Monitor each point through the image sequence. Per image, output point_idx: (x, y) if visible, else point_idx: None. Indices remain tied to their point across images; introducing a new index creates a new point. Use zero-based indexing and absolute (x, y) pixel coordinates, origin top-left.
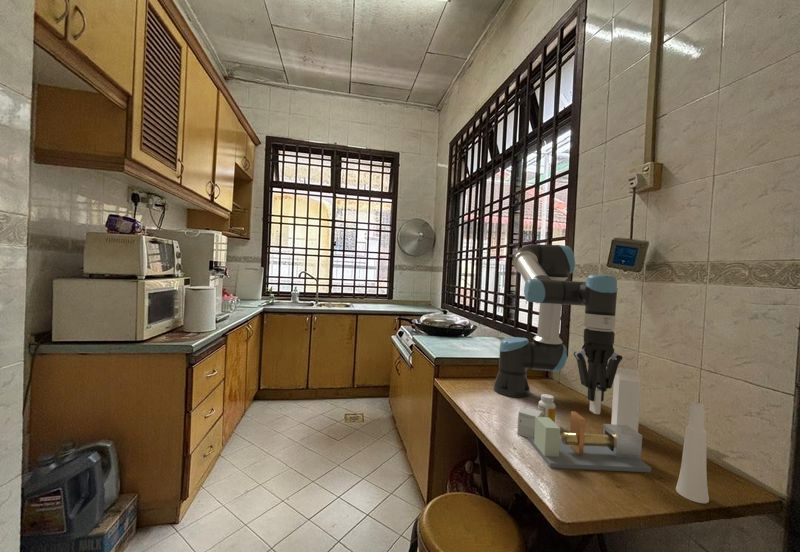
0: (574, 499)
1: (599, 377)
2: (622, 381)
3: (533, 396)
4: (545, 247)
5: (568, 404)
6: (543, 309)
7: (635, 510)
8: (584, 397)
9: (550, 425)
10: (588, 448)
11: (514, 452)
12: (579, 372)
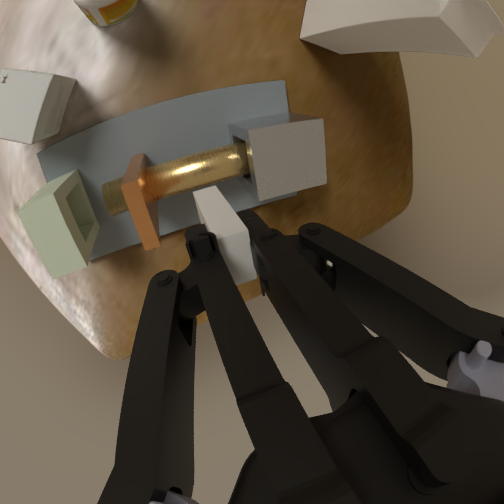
0: (125, 326)
1: (284, 309)
2: (440, 23)
3: None
4: None
5: None
6: None
7: (206, 315)
8: None
9: (60, 258)
10: (184, 146)
11: (19, 228)
12: (135, 354)
